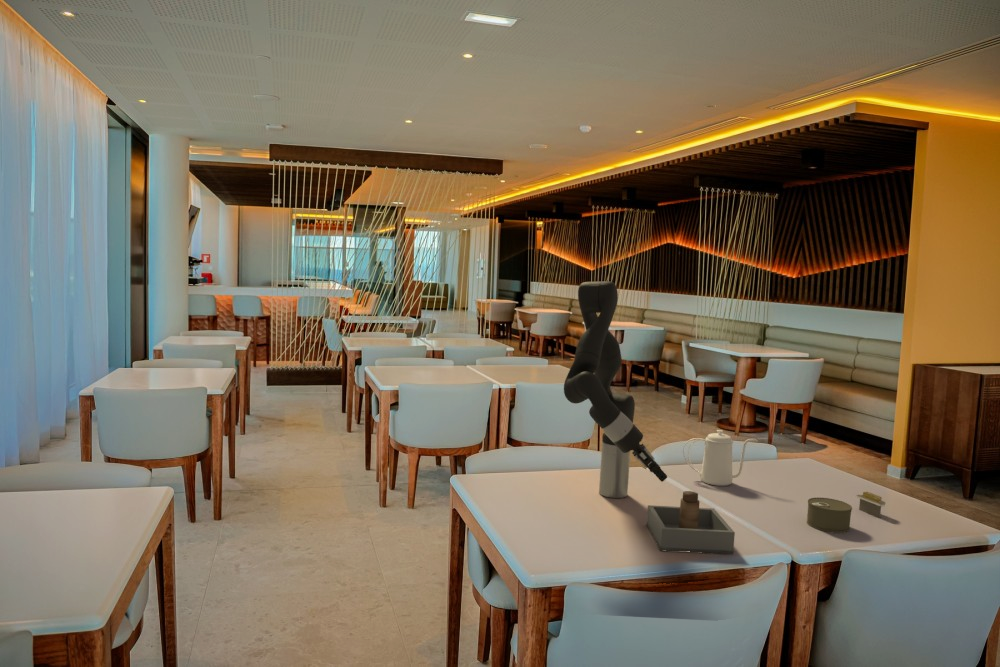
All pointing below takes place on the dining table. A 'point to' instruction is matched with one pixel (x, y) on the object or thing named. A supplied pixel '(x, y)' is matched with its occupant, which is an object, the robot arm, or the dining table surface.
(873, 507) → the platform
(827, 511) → the can
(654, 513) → the serving bin
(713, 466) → the coffeepot
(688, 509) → the pepper mill
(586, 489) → the dining table surface
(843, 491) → the dining table surface
